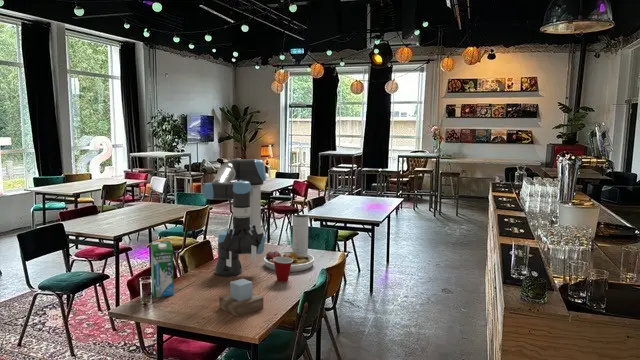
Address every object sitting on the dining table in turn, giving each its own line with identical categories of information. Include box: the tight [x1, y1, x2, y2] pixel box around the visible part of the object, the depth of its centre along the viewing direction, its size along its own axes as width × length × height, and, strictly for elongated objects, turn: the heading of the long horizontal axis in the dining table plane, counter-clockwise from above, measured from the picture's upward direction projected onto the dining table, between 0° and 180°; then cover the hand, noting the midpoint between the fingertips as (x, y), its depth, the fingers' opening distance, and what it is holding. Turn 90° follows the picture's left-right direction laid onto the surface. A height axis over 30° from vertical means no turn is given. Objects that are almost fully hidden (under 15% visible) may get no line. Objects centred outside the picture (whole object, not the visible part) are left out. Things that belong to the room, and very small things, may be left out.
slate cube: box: [229, 278, 253, 301], centre depth 199 cm, size 7×7×7 cm
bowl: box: [263, 250, 315, 273], centre depth 266 cm, size 30×30×8 cm
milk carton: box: [150, 240, 175, 299], centre depth 215 cm, size 9×9×25 cm
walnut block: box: [218, 292, 264, 317], centre depth 200 cm, size 14×14×5 cm
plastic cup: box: [273, 257, 293, 283], centre depth 238 cm, size 11×11×12 cm
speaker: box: [291, 214, 310, 254], centre depth 292 cm, size 11×10×26 cm
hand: (241, 262), depth 198 cm, fingers open, 13 cm apart
